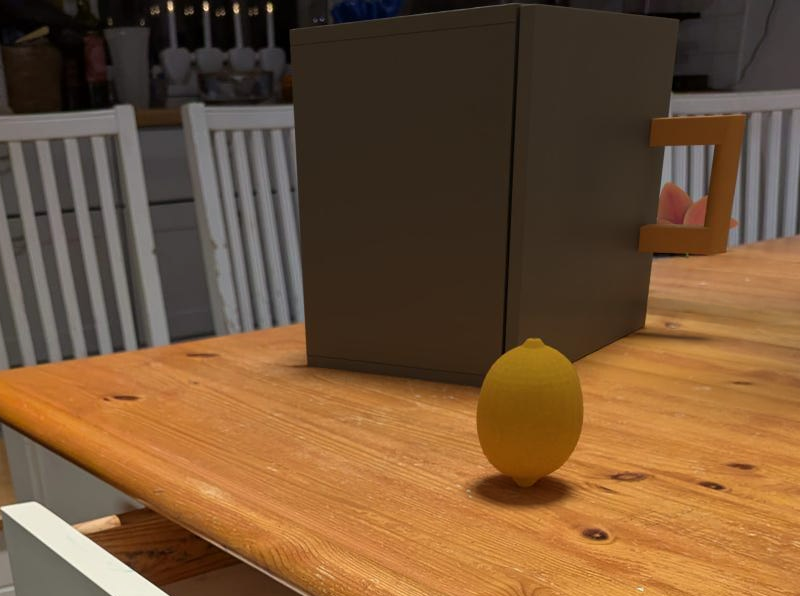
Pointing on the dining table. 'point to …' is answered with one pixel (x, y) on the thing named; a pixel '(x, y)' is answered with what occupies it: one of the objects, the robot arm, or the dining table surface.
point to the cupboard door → (600, 175)
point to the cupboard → (407, 190)
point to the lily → (682, 208)
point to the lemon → (530, 412)
